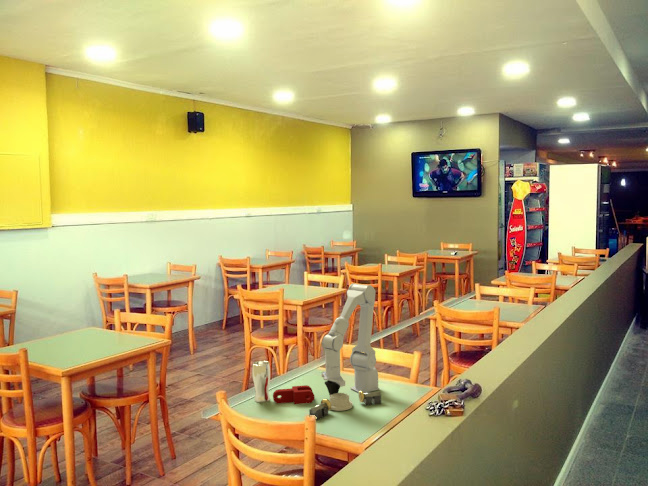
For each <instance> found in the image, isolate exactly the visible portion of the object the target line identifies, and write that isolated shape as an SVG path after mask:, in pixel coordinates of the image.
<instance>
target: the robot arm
mask: <svg viewBox="0 0 648 486" xmlns="http://www.w3.org/2000/svg"><path fill="white" fill-rule="evenodd" d="M346 296H347V297H346V301H345V302H344V303H345V304H344V306H343V308H342V311H341V313H340V316H339V317H336V319H335V320H334V322H333V324H332V325H331V328H330V329H329V332H328V334H326V335H324V336H323V338H322V341H321V346H322V348H323V353H324V356H325V359H324V360H325V370H324V371H322V372H321V378H323V380H324V385H325V386H326V388H327V391H328V395H329V396H330V395H332V394H333V393H339V391H340V388H341V387H342V388H343V387H345V386H346V380H345V379H343V377H342V376H341V349H342V348H343V346H344V339H345V337H344V336H345V334H346V332H347V330H348V328H349V326H350V323H349V319H350V318H351V316H352V315H353V313H354V311H355V309H356V308H357V307H358V305H359V306H360V313H359V324H358V334H357V335H358V336H357V344H356V345H355V346H354V347H352V349H351V354H350V356H349V362H350V364H351V366H352V368H353V370H354V386H352V387H350V390H353V391H355V392H357V393H359V391H363V393H371V392H376V391H378V390H380V388H379V373H378V370H377V369H378V368H376V367H375V366H376V364H377V358H376V350H375V348H373V347H372V345H371V341H372V331H373V330H372V329H373V319H374V308H375V303H376V289H375V288H374V286H373V285H371V284H368V285H367V284H359V283H354V282H353V283H351V284H349V287H348V289H347V291H346Z"/></svg>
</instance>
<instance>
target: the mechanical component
mask: <svg viewBox="0 0 648 486" xmlns="http://www.w3.org/2000/svg"><path fill="white" fill-rule="evenodd" d="M328 400H329V401H330V402H331V409H330V410H331V411H337V412H340V411H341V412H342V411H346V410H350V409H352V408H353V406H354V405H353V401H351V400H350V395H349V394H348V393H345V392H338V393H333V394H332V395H329V399H328Z"/></svg>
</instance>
